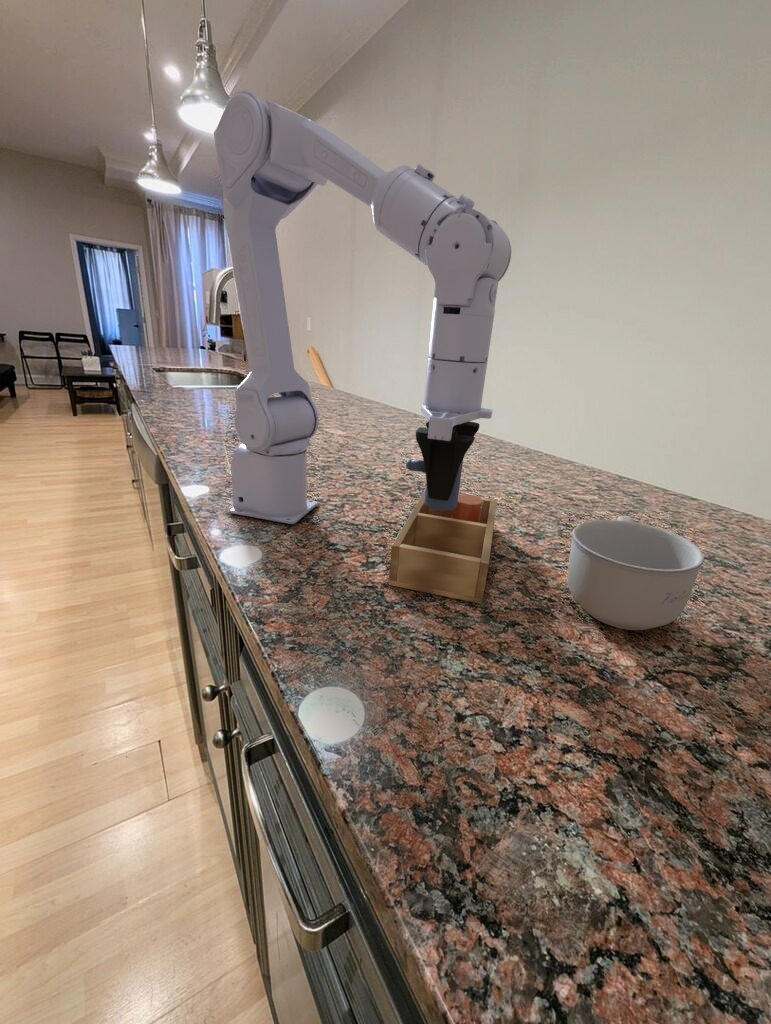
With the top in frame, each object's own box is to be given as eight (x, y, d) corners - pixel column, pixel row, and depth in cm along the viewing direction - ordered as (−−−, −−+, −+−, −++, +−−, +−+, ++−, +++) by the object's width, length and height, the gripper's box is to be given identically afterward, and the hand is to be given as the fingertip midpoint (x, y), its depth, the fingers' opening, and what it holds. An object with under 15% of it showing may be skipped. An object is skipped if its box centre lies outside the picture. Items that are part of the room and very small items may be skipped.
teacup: (675, 663, 38) (707, 582, 35) (545, 616, 43) (563, 541, 40) (676, 592, 49) (701, 525, 46) (573, 561, 54) (589, 500, 51)
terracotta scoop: (428, 535, 56) (432, 498, 54) (433, 524, 59) (437, 489, 57) (476, 544, 55) (482, 506, 53) (478, 532, 58) (484, 496, 56)
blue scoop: (399, 504, 48) (403, 459, 46) (406, 493, 51) (410, 451, 49) (454, 512, 47) (460, 467, 45) (458, 501, 50) (464, 458, 48)
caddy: (388, 584, 46) (391, 545, 44) (422, 519, 63) (425, 488, 61) (481, 604, 44) (489, 563, 42) (491, 531, 61) (497, 499, 59)
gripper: (496, 368, 36) (473, 523, 41) (501, 360, 49) (483, 478, 54) (410, 361, 37) (398, 511, 42) (438, 355, 50) (426, 470, 55)
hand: (441, 492), depth 48 cm, fingers closed on blue scoop, 3 cm apart
